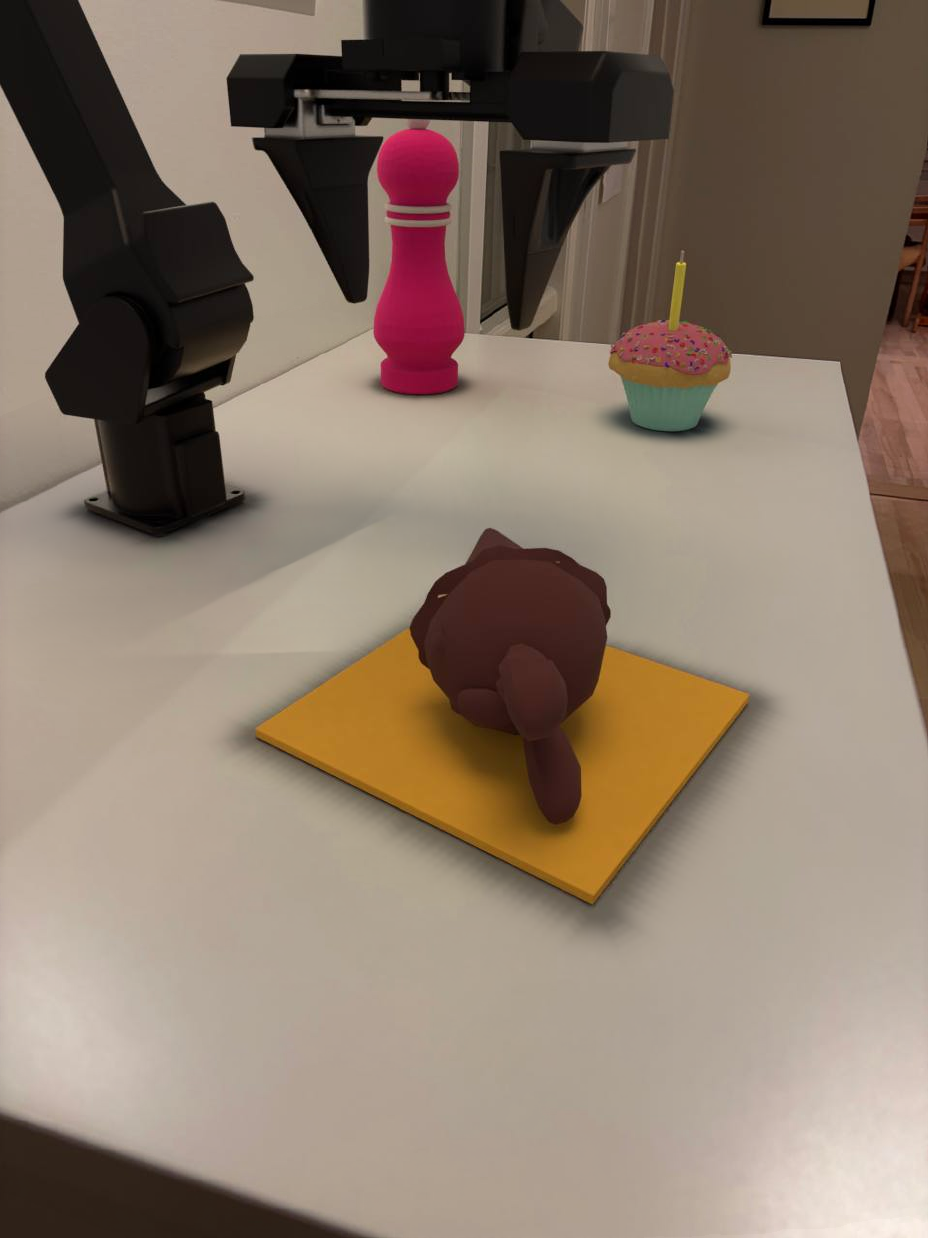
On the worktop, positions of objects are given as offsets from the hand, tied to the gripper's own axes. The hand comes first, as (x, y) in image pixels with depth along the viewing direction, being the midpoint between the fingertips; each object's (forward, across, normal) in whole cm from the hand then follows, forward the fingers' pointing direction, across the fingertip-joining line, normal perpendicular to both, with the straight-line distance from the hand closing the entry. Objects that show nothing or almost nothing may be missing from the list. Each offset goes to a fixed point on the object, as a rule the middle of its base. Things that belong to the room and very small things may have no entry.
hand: (434, 314), depth 42 cm
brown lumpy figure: (+12, -11, +10) cm, 19 cm away
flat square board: (+12, -11, +10) cm, 19 cm away
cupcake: (+12, 0, -28) cm, 31 cm away
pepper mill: (+12, +20, -25) cm, 34 cm away
